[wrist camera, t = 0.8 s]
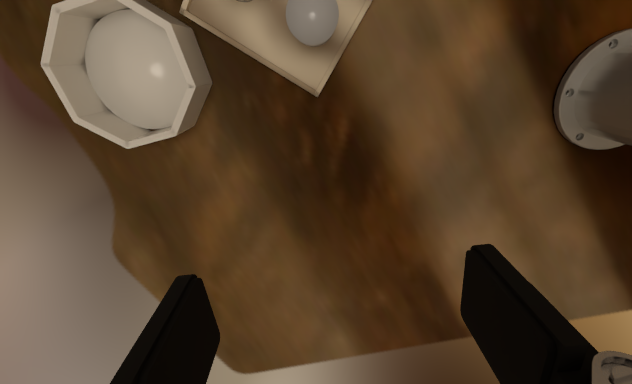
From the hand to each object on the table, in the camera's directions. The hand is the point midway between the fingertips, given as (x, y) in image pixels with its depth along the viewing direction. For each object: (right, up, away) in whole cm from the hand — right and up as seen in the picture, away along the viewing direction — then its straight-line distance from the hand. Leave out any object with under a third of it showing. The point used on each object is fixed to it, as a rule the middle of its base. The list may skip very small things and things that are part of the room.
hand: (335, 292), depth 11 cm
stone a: (-1, +21, +20) cm, 29 cm away
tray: (-4, +23, +20) cm, 31 cm away
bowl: (-19, +17, +23) cm, 34 cm away
